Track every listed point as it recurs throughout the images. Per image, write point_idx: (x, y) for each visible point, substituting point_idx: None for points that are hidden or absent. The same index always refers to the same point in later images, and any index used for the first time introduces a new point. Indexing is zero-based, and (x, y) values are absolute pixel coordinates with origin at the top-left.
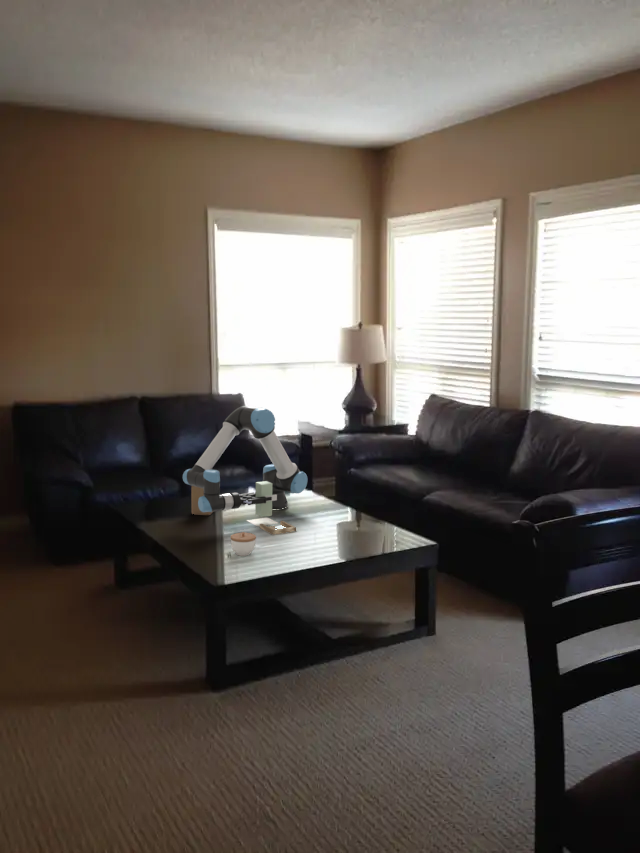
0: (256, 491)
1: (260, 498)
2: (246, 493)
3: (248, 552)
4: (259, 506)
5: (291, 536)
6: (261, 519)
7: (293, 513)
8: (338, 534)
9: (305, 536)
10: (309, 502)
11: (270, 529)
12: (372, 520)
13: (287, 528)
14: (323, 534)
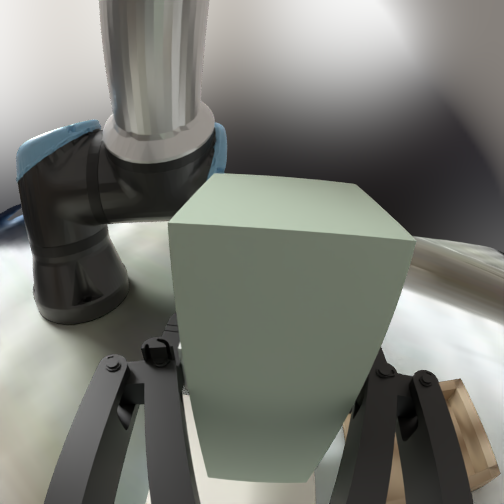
0: (213, 361)
1: (448, 429)
2: (72, 440)
3: None
4: (287, 454)
5: (492, 420)
6: (189, 437)
7: None
8: (465, 308)
9: (490, 380)
10: (138, 233)
11: (480, 483)
12: None
13: (474, 411)
14: (468, 334)
